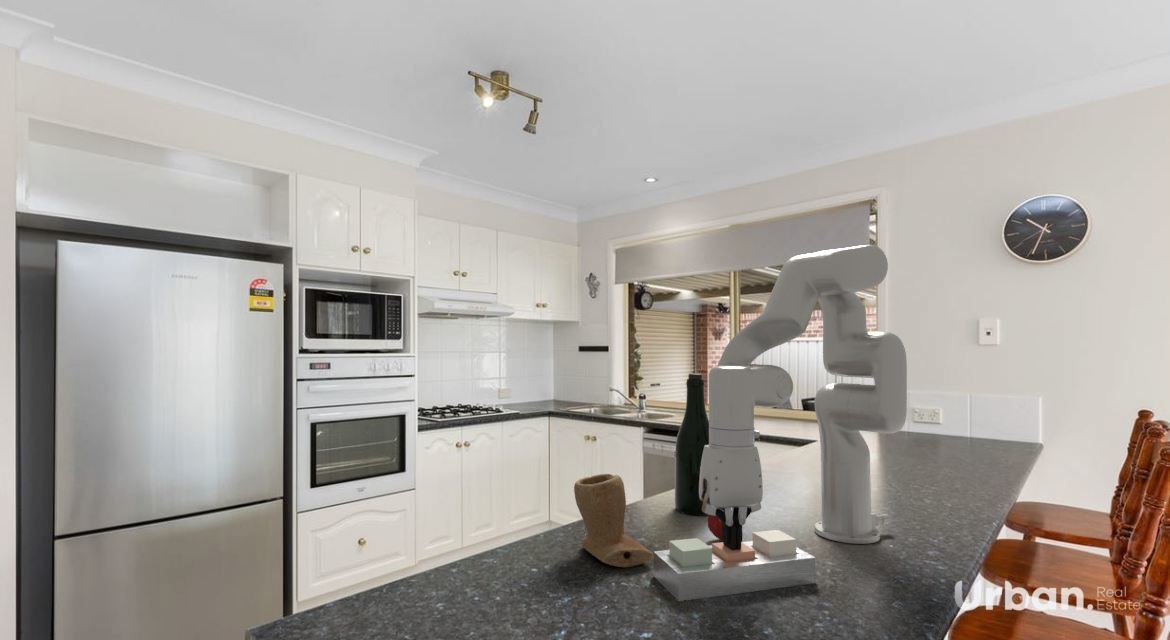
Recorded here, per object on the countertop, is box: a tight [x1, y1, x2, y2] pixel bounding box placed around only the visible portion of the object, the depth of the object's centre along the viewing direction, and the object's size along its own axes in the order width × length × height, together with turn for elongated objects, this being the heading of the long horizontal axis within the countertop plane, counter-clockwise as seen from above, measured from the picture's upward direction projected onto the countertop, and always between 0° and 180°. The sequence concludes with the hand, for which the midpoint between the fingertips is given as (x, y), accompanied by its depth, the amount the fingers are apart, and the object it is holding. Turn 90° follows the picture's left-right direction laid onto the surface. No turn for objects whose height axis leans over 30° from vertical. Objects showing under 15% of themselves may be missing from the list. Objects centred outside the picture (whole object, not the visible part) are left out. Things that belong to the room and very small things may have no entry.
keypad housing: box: [652, 540, 817, 602], centre depth 96 cm, size 25×10×4 cm, turn 106°
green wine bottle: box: [674, 373, 709, 516], centre depth 138 cm, size 10×10×33 cm
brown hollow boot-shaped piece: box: [573, 473, 654, 568], centre depth 107 cm, size 15×12×15 cm
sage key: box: [668, 537, 712, 568], centre depth 94 cm, size 5×5×3 cm
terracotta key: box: [711, 541, 755, 563], centre depth 96 cm, size 5×5×3 cm
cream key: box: [752, 529, 797, 558], centre depth 98 cm, size 5×5×3 cm
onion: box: [707, 509, 732, 542], centre depth 116 cm, size 6×6×8 cm
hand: (732, 547), depth 96 cm, fingers closed
